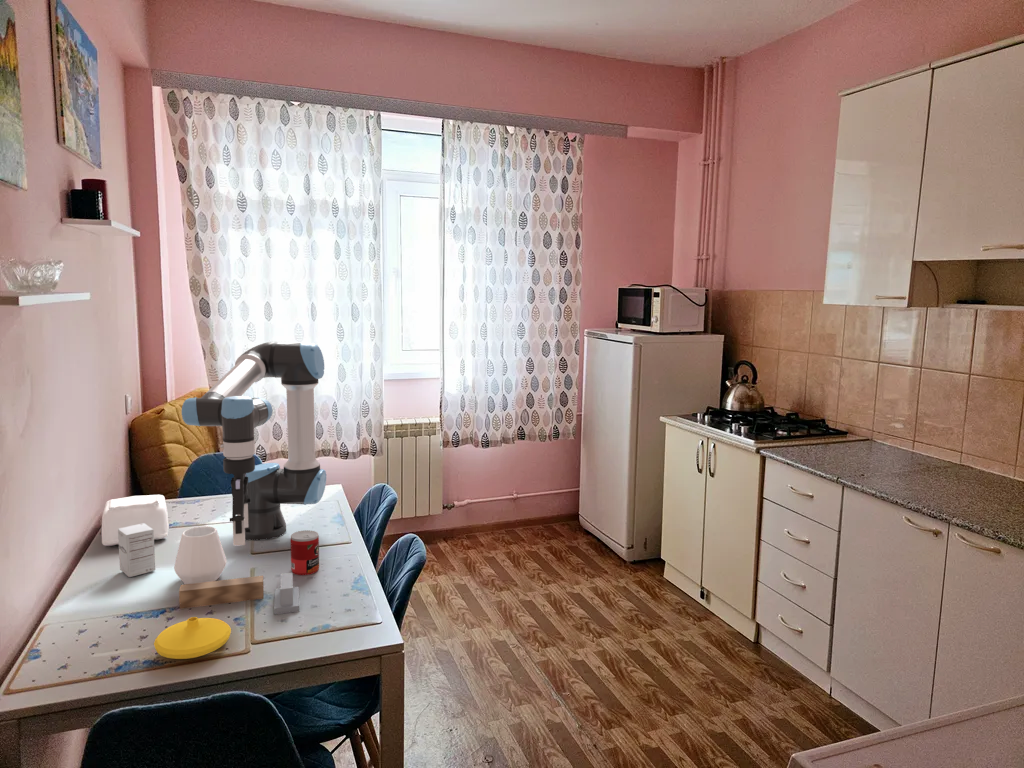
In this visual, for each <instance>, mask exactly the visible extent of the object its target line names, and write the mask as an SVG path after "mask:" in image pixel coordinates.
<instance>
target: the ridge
mask: <svg viewBox="0 0 1024 768" xmlns="http://www.w3.org/2000/svg"><path fill="white" fill-rule="evenodd" d="M293 575H294V574H293V573H292V572H286V573H280V584H279V585H280V588H275V589H274V606H273V607H274V608H273V609H274V610H273V611H274V614H273V615H279V614H282V615H283V614H289V613H296V612H300V587H299V586H297V585H296V586H294V581H293V580H294V579H293V578H294V577H293Z"/></svg>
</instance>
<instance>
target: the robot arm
mask: <svg viewBox="0 0 1024 768" xmlns="http://www.w3.org/2000/svg"><path fill="white" fill-rule="evenodd" d="M323 355H324V354H323V352H322V350H321V348H320V347H319V345H318V344H316V343H315V342H314V343H312V342H305V341H268V342H263V343H261V344H258V345H256V346H255V345H254V347H251V348H249V349H248V350H246V351H244V352H243V353H242V354H241V355H239V356H238V357H237V359H236V360H235V363H234V366H233V367H232V368H231V369H229V371H227V373H225V374H224V375H223V377H221V378H220V379H219V380H218V381H217V382H216V383H215V384H214V385H212V387H211V388H209V390H208V391H206V392H205V393H204V394H203V395H202V396H201V397H196V396H195V397H190V398H187V399H185V400H184V402H183V403H182V406H181V417H182V421H183V422H184V423H185V424H186V425H188V426H196V427H197V426H198V427H221V428H222V444H220V445H219V446H220V448H221V449H222V453H223V454H222V455H223V457H224V458H223V459H222V460H223V461H222V463H223V464H222V466H223V472H224V473H225V474H227V475H233V477H231V479H230V486H231V496H232V504H231V505H232V511H231V513H232V516H231V517H229V522H232V541H233V545H232V546H233V547H235V546H245V545H246V541H267V540H272V539H275V538H278V537H281V536H282V534H283V535H285V534H286V532H287V523H286V520H285V517H284V515H283V512H282V510H281V505H282V504H283V505H304V506H307V505H317V504H318V503H319V502H321V500H322V499H323V496H324V492H325V490H326V485H327V472H326V469H323V468H321V462H320V461H319V460H317V458H316V439H315V438H316V436H315V435H316V434H315V433H316V432H315V430H316V429H315V387H316V386H317V385H318V384H319V380H320V379H322V378H323V377H324V374H325V359H324V356H323ZM265 378H276V379H277V378H280V380H281V383H280V384H281V385H282V387H284V388H285V390H286V423H287V424H286V425H287V429H286V430H287V461H286V462H285V463H284V464H283V468H281V466H280V463H277V462H267V463H261V464H260V463H259V464H257V465H256V463H255V462H256V459H255V456H254V455H255V454H256V452H255V451H256V448H255V445H256V444H255V428H257V427H260V426H263V425H264V424H266V423H267V422H269V420H270V419H271V418H272V416H273V406H272V405H271V403H270V401H269V400H267V399H266V398H264V397H251V396H248V395H244V394H245V393H246V392H247V391H248V390H249V389H250V387H251V386H253V384H254V383H257V382H260V381H261V380H262V379H265ZM280 535H281V536H280Z"/></svg>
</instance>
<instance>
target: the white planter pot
mask: <svg viewBox="0 0 1024 768" xmlns="http://www.w3.org/2000/svg"><path fill="white" fill-rule="evenodd" d="M227 562H228V561H227V557H226V553H225V550H224V548H223V545H222V542H221V539H220V536H219V533H218V530H217V528H216V527H213V526H206V525H203V526H202V525H201V526H195V527H191V528H188V529H186V530H184V531H182V533H181V537H180V541H179V545H178V549H177V554H176V556H175V562H174V567H173V569H174V572H175V574H176V575H177V577H178V578H179V579H180V580H181V581H182V583H184V584H193V583H201V582H210V581H218V580H219V578H220V576H221V574H222V573H223V571H224V570H225V568H226V565H227ZM184 584H183V585H184Z"/></svg>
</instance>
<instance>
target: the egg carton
mask: <svg viewBox="0 0 1024 768" xmlns="http://www.w3.org/2000/svg"><path fill="white" fill-rule="evenodd" d="M143 523H145V524H146V525H147V526H149V527H151V528H152V529H153V531H154V541H155V540H163V539H165V538H167V537H168V535H169V531H170V530H169V529H170V525H169V515H168V507H167V503H166V498H165V496H164V495H163V494H149V495H147V494H146V495H131V496H125V497H119V498H113V499H109V500H107V501H105V505H104V509H103V512H102V518H101V544H102V545H103V546H105V547H107V546H108V547H109V546H116V545H119V540H118V529H119V528H124V527H128V526H133V525H137V524H143Z"/></svg>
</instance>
